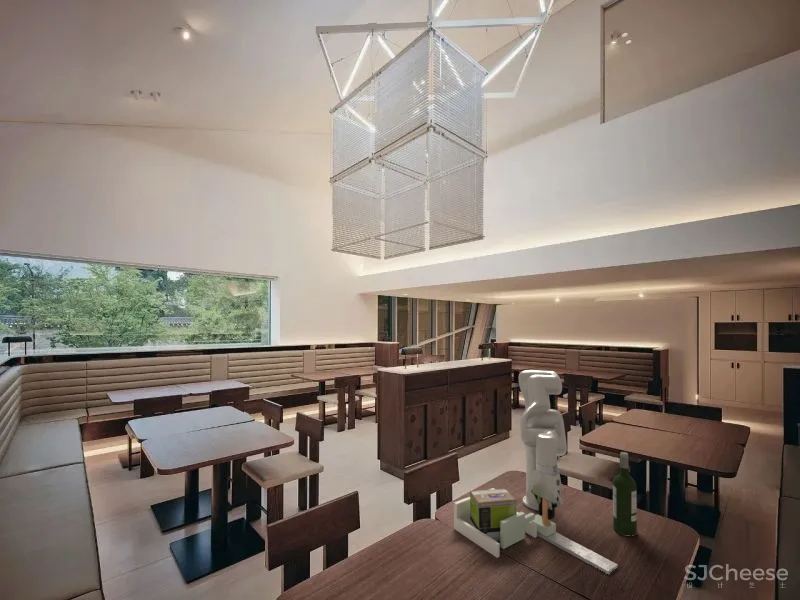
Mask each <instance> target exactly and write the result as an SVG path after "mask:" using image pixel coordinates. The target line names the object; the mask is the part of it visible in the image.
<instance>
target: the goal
mask: <svg viewBox="0 0 800 600" xmlns="http://www.w3.org/2000/svg"><path fill="white" fill-rule="evenodd" d="M493 489H495V488H494V487H492V488H489V489H488V490H493ZM453 529H454V530H455V531H457V532H459V533H460V534H461V535H462V536H464V537H465V538H467V539H468V540H470V541H471V542H472V543H474V544H476V545H477V546H479V547H480V548H482V549H483V550H485V551H486V552H488V553H489V554H490V555H492V556H494V557H495V558H497V559H498V558H499V557H500V548H501V547H500V543H499V542H498V541H495V540H493V539H492V538H490V537H489V536H487V535H485V534H484V533H482V532H481V531H479V530H478V529H476V528H474V527H473V526H471V525H470V496H468V497H466V498H462V499H460V500H458V501H454V503H453ZM525 534H528V535H529V536H531V537H532V538H537V537H538V536H537V524H535V523H533V522H529V523H527V524H525Z"/></svg>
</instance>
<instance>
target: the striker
mask: <svg viewBox="0 0 800 600" xmlns="http://www.w3.org/2000/svg"><path fill="white" fill-rule="evenodd" d="M548 509H549V501H548V500H546V499H544V498H542V515H541V516H540V515H539V513H537V514H535V512H529V513H527V514H526V513H525V512H523V511H520V512H518V514H515V515H513V516H511V517H509V518H507V519H504V520H502V521H500V541H499V542H500V548H501V549H503V550H505V549H506V548H509V547H511V546H512V545H513V544H516V543H518V542H519V541H522V540H523V539H524V540H525V539H526V532H525V524H527V523H529V522H533V523H535V524H537V532H539V533H541V534H542V535H544V536H546V537H547V536H549V535H551V534H552V533H554V532H557V524H556V523H555V522H554V521H552V519H551V520H548Z"/></svg>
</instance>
